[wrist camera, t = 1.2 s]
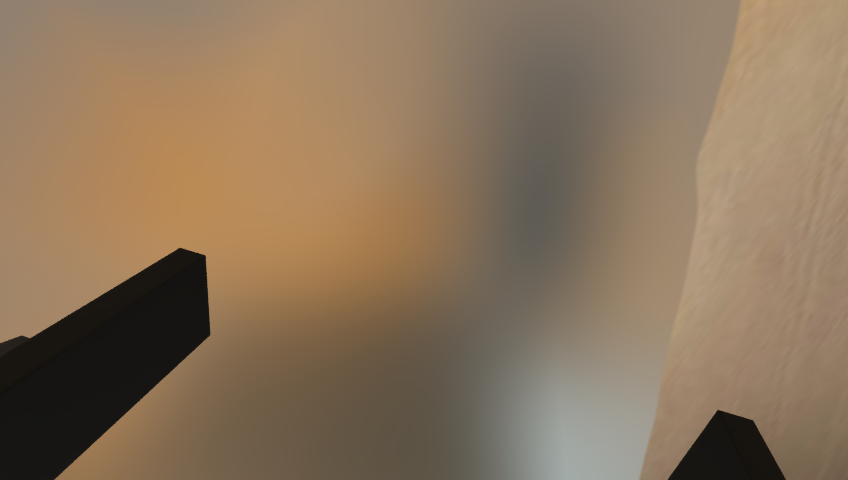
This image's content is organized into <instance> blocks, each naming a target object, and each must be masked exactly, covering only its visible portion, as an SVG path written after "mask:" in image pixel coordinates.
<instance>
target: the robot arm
mask: <svg viewBox="0 0 848 480" xmlns="http://www.w3.org/2000/svg"><path fill="white" fill-rule="evenodd" d="M209 336H210V321H209V305H208V288H207V272H206V256H205V255H202V254H199V253H195V252H192V251H189V250H185V249H182V248H179V249H177V250H176V251H174V252H172V253H171V254H169V255H168V256H166V257H164V258H162V259H161V260H159V261H158V262H156V263H154V264H152V265H151V266H149V267H147V268H146V269H144V270H143V271H141V272H139V273H138V274H136V275H134V276H133V277H131V278H129V279H128V280H126V281H124V282H123V283H121V284H119V285H118V286H116V287H114V288H113V289H111V290H109V291H108V292H106V293H104V294H103V295H101V296H100V297H98V298H96V299H95V300H93V301H91V302H90V303H88V304H87V305H85V306H83V307H81V308H80V309H78V310H77V311H75V312H73V313H71V314H70V315H68V316H66V317H65V318H63V319H61V320H60V321H58V322H57V323H55V324H53V325H52V326H50V327H48V328H47V329H45V330H43V331H42V332H40V333H38V334H37V335H35V336H33V337H32V338H27V337H25V336H19V337H17V338H14V339H11V340H8V341H5V342H3V343H0V480H54V479H55V478H56V477H58V476H59V475H60V474H61V473H62V472H63V471H64V470H65V469H66V468H67V467H68V466H69V465H70V464H72V463H73V462H74V460H76V459H77V458H78V457H79V456H80V455H81V454H82V453H83V452H84V451H86V450H87V449H88V448H89V447H90V446H91V445H92V444H93V443H94V442H95V441H96V440H97V439H99V438H100V437H101V436H102V435H103V434H104V433H105V432H106V431H107V430H108V429H109V428H110V427H112V426H113V425H114V424H115V423H116V422H117V421H118V420H119V419H120V418H121V417H122V416H123V415H124V414H126V412H128V411H129V410H130V409H131V408H132V407H133V406H134V405H135V404H136V403H137V402H138V401H140V399H142V398H143V397H144V396H145V395H146V394H147V393H148V392H149V391H150V390H151V389H152V388H154V387H155V386H156V385H157V384H158V383H159V382H160V381H161V380H162V379H163V378H164V377H165V376H166V375H168V374H169V373H170V372H171V371H172V370H173V369H174V368H175V367H176V366H177V365H178V364H179V363H181V362H182V361H183V360H184V359H185V358H186V357H187V356H188V355H189V354H190V353H191V352H192V351H194V350H195V349H196V348H197V347H198V346H199V345H200V344H201V343H202V342H203V341H204V340H205V339H206V338H207V337H209ZM668 480H786V479H785V477H784V475H783V474H782V472H781V470H780V468H779V466H778V465H777V463H776V461H775V459H774V457H773V456H772V454H771V452H770V450H769V448H768V447H767V445H766V443H765V441H764V439H763V438H762V436H761V434H760V432H759V430H758V429H757V427H756V425H755V423H754V421H753V420H750V419H746V418H743V417H740V416H737V415H733V414H730V413H727V412H723V411H720V410H718V411H717V412H716V413H715V415H714V416H713V417H712V419H711V420H710V422H709V423H708V424H707V426H706V427H705V429H704V430H703V431H702V433H701V434H700V436H699V437H698V438H697V440H696V441H695V442H694V444H693V445H692V447H691V448H690V449H689V451H688V452H687V454H686V455H685V456H684V458H683V459H682V460H681V462H680V463H679V465H678V466H677V467H676V469H675V470H674V472H673V473H672V474H671V476H670V477H669V479H668Z"/></svg>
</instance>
